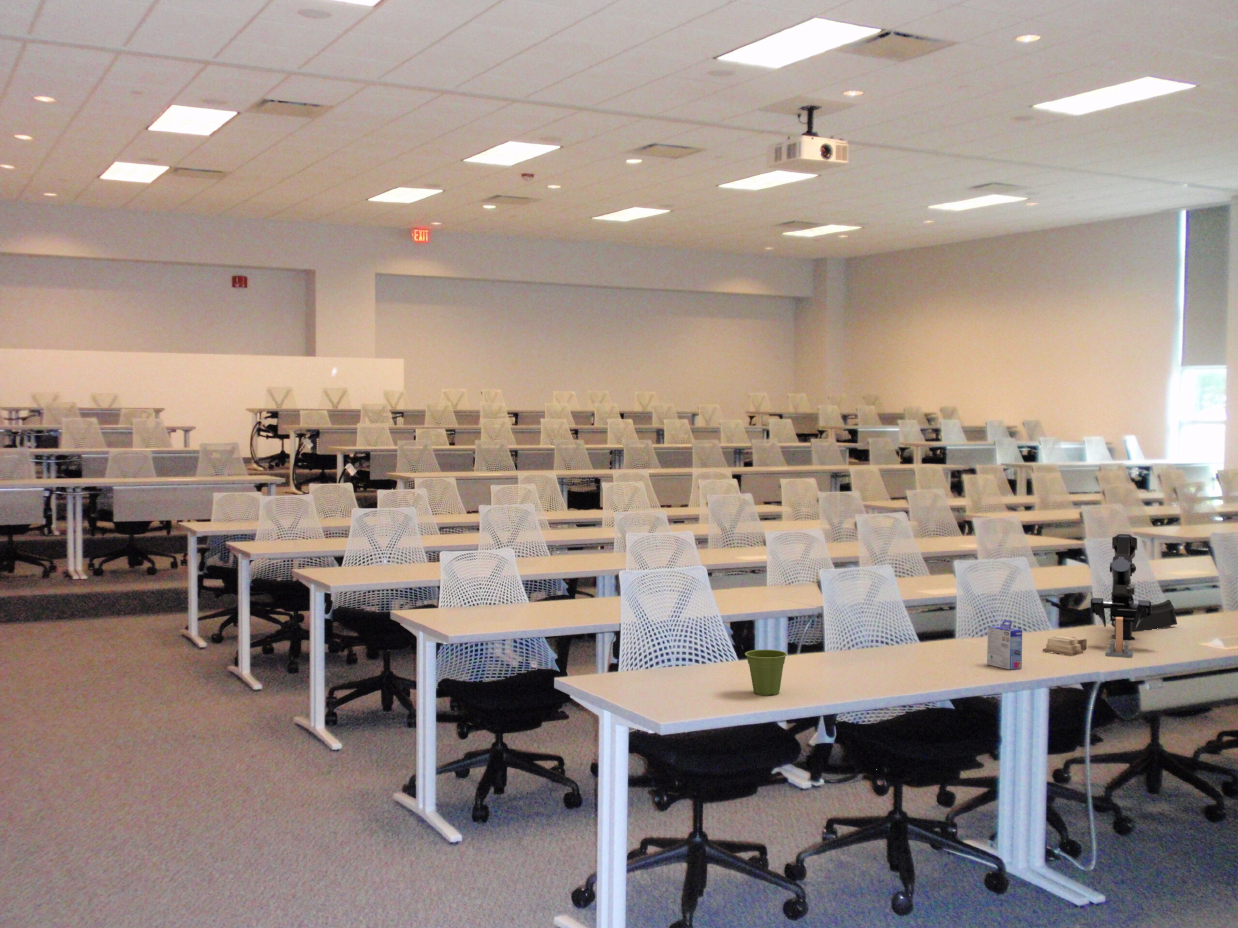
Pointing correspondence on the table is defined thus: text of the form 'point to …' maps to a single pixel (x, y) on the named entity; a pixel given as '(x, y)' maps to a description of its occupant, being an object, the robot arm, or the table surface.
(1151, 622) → the magazine
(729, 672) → the table surface
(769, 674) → the plant pot
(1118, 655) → the holder
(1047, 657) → the table surface
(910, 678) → the table surface
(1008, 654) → the ink cartridge box
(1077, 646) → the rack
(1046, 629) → the table surface
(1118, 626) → the tall peach slab
